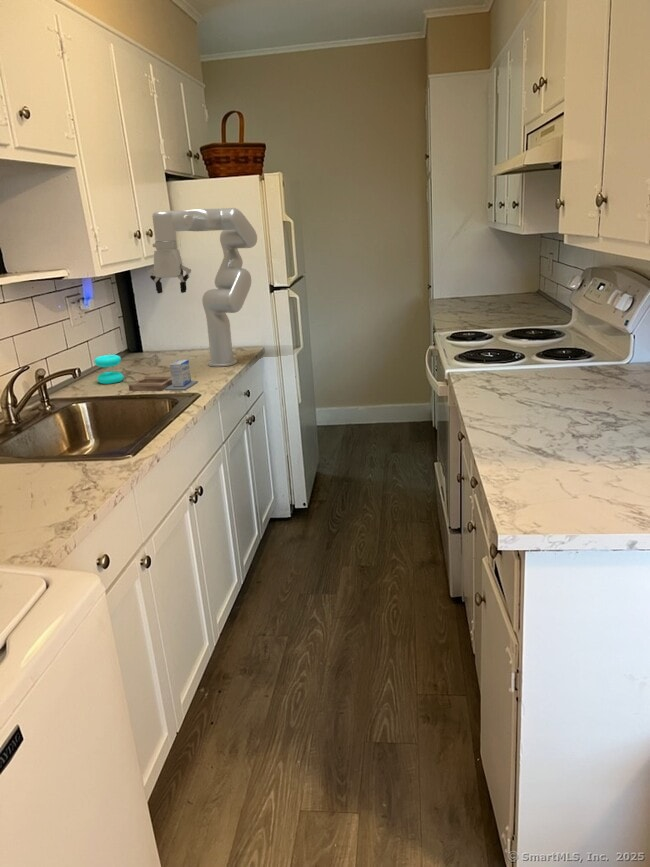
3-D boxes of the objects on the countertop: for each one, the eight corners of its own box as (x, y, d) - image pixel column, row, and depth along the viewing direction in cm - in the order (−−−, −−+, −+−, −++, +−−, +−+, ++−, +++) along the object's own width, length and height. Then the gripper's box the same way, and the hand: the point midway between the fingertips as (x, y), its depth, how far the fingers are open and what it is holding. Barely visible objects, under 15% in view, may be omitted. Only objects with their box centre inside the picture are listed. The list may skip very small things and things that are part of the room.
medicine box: (183, 386, 241) (180, 364, 239) (172, 386, 242) (169, 364, 240) (191, 381, 249) (189, 359, 246) (180, 381, 250) (178, 359, 247)
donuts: (98, 360, 248) (90, 356, 256) (102, 386, 251) (94, 381, 259) (123, 356, 253) (115, 353, 261) (127, 381, 257) (119, 377, 264)
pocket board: (146, 381, 255) (145, 376, 255) (177, 381, 253) (176, 376, 252) (129, 390, 242) (128, 385, 242) (161, 390, 240) (160, 385, 239)
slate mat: (178, 382, 251) (178, 380, 251) (197, 382, 250) (197, 380, 250) (165, 390, 240) (165, 388, 240) (185, 390, 239) (185, 388, 238)
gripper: (140, 247, 241) (146, 294, 246) (183, 246, 238) (189, 293, 243) (149, 246, 248) (155, 292, 253) (191, 244, 244) (196, 291, 250)
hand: (171, 292), depth 248 cm, fingers open, 9 cm apart
